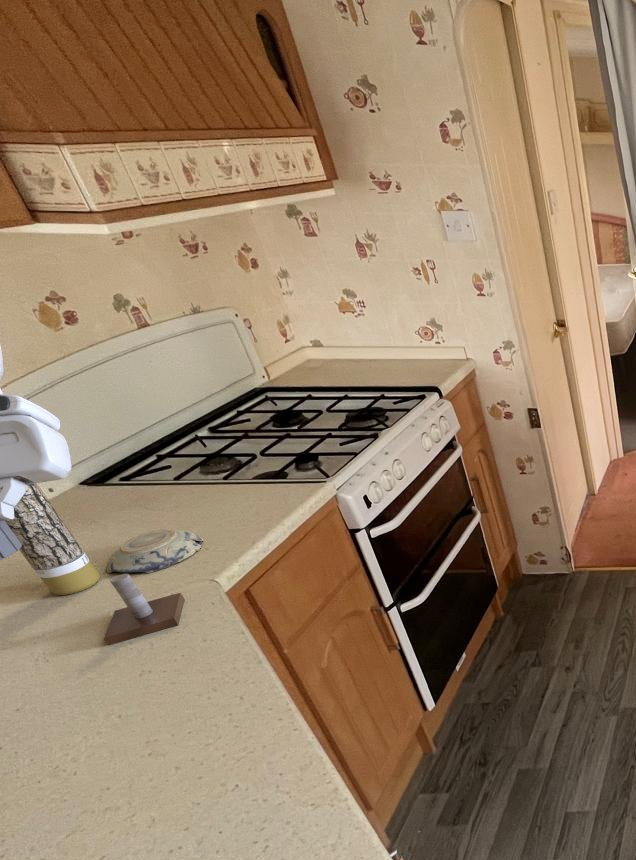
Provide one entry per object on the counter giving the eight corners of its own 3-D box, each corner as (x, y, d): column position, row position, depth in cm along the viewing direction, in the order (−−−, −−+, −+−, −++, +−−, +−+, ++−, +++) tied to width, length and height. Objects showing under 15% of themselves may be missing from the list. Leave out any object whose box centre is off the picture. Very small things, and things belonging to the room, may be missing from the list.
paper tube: (66, 599, 121) (-27, 474, 108) (44, 593, 123) (-50, 469, 110) (110, 579, 126) (27, 457, 113) (88, 573, 128) (4, 452, 115)
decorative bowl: (103, 558, 133) (112, 586, 124) (92, 542, 131) (101, 569, 122) (196, 529, 142) (211, 553, 133) (188, 514, 140) (202, 537, 131)
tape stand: (108, 645, 109) (76, 600, 104) (119, 617, 116) (89, 574, 111) (178, 625, 113) (150, 581, 109) (185, 599, 120) (158, 556, 115)
